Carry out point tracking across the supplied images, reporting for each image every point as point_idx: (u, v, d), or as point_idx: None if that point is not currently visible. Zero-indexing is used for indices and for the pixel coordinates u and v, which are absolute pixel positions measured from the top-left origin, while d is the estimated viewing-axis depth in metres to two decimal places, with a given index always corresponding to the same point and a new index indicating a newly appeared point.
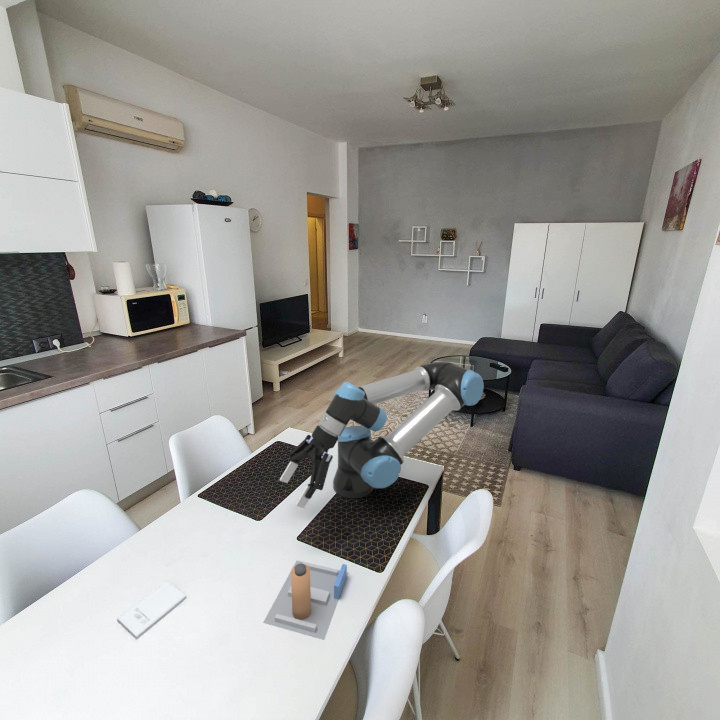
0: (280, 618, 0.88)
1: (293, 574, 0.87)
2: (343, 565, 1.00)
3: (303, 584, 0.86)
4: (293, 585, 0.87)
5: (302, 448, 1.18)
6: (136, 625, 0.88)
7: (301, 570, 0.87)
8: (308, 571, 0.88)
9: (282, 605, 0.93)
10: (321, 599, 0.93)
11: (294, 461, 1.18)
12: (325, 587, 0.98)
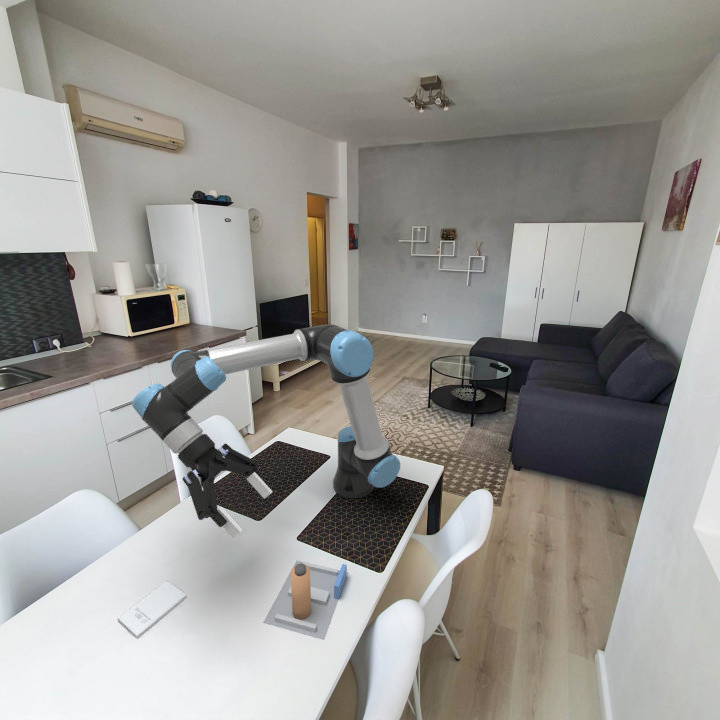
0: (280, 618, 0.88)
1: (293, 575, 0.87)
2: (343, 565, 1.00)
3: (303, 584, 0.86)
4: (293, 585, 0.87)
5: (236, 459, 0.93)
6: (136, 624, 0.88)
7: (301, 570, 0.87)
8: (308, 571, 0.88)
9: (282, 605, 0.93)
10: (321, 599, 0.93)
11: (249, 473, 0.93)
12: (325, 587, 0.98)
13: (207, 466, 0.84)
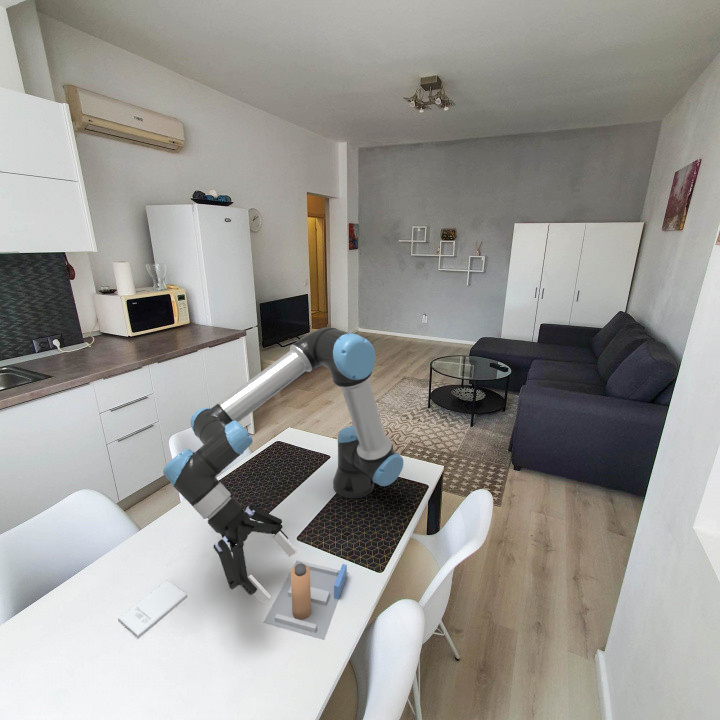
0: (280, 618, 0.88)
1: (293, 574, 0.87)
2: (343, 565, 1.00)
3: (303, 584, 0.86)
4: (293, 585, 0.87)
5: (262, 519, 0.95)
6: (137, 624, 0.88)
7: (301, 570, 0.87)
8: (308, 571, 0.88)
9: (282, 605, 0.93)
10: (321, 599, 0.93)
11: (275, 532, 0.95)
12: (325, 587, 0.98)
13: (236, 531, 0.86)
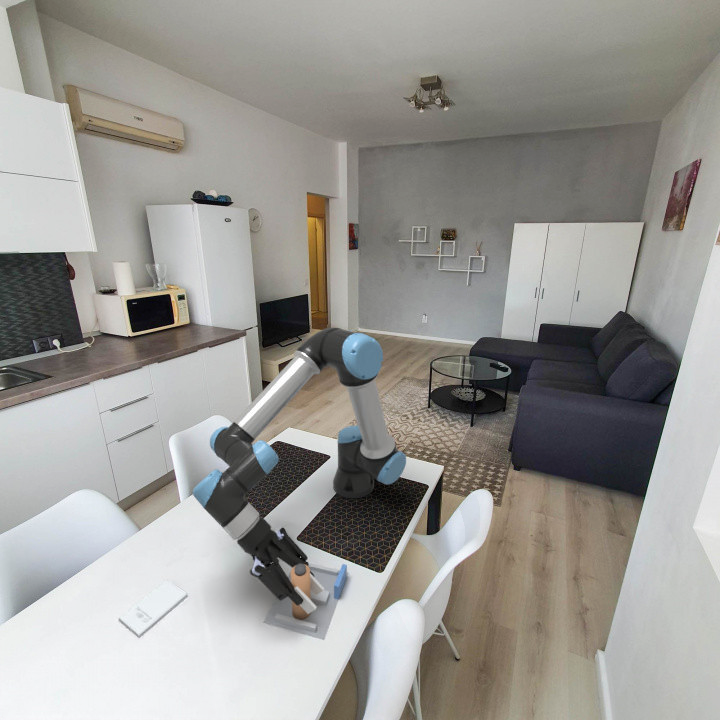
0: (280, 618, 0.88)
1: (293, 575, 0.87)
2: (343, 565, 1.00)
3: (303, 584, 0.86)
4: (293, 585, 0.87)
5: (288, 548, 0.93)
6: (138, 624, 0.88)
7: (301, 570, 0.87)
8: (308, 571, 0.88)
9: (282, 605, 0.93)
10: (321, 599, 0.93)
11: None
12: (325, 587, 0.98)
13: (267, 552, 0.86)
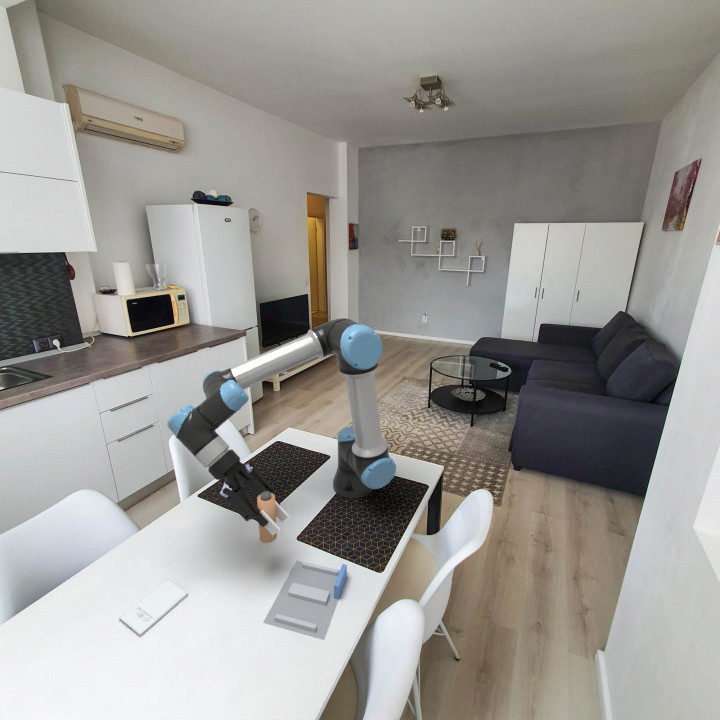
0: (280, 618, 0.88)
1: (259, 500, 0.95)
2: (343, 565, 1.00)
3: (268, 508, 0.95)
4: (259, 509, 0.95)
5: (257, 480, 1.01)
6: (139, 623, 0.88)
7: (266, 496, 0.95)
8: (273, 497, 0.96)
9: (282, 605, 0.93)
10: (321, 599, 0.93)
11: None
12: (325, 587, 0.98)
13: (235, 479, 0.94)
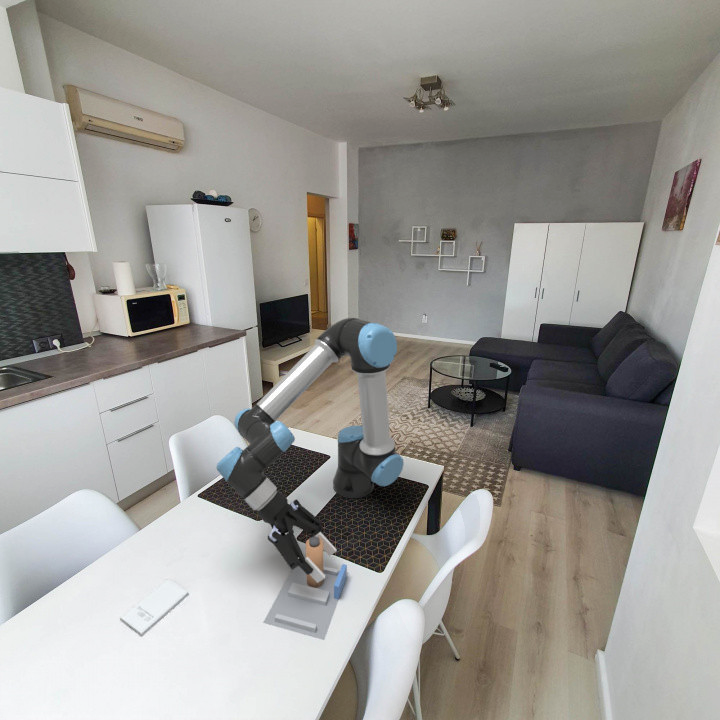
0: (280, 618, 0.88)
1: (308, 546, 0.95)
2: (343, 565, 1.00)
3: (317, 554, 0.95)
4: (308, 556, 0.95)
5: (303, 516, 1.02)
6: (140, 622, 0.88)
7: (315, 542, 0.95)
8: (321, 543, 0.96)
9: (282, 605, 0.93)
10: (321, 599, 0.93)
11: (315, 533, 1.01)
12: (325, 587, 0.98)
13: (284, 522, 0.94)
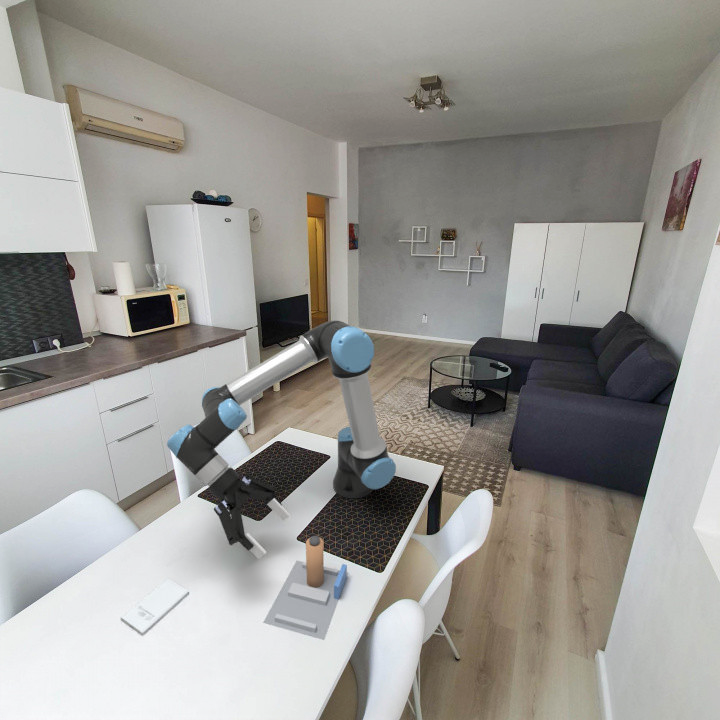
0: (280, 618, 0.88)
1: (308, 545, 0.95)
2: (343, 565, 1.00)
3: (317, 553, 0.95)
4: (308, 555, 0.95)
5: (257, 487, 1.05)
6: (141, 622, 0.88)
7: (315, 541, 0.95)
8: (322, 542, 0.96)
9: (282, 605, 0.93)
10: (321, 599, 0.93)
11: (270, 499, 1.05)
12: (325, 587, 0.98)
13: (234, 496, 0.96)
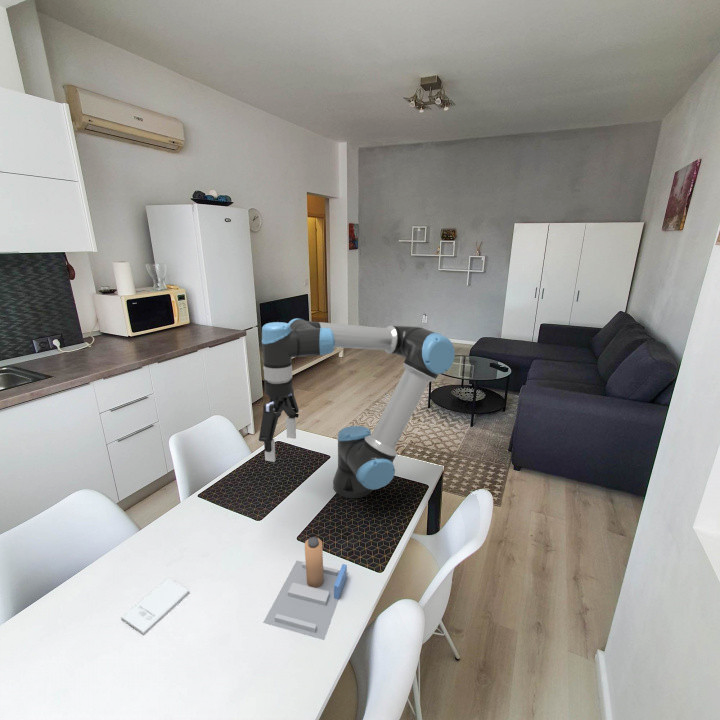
0: (280, 618, 0.88)
1: (307, 546, 0.95)
2: (343, 565, 1.00)
3: (315, 555, 0.94)
4: (307, 556, 0.95)
5: (289, 402, 1.14)
6: (141, 622, 0.88)
7: (314, 543, 0.95)
8: (320, 544, 0.96)
9: (282, 605, 0.93)
10: (321, 599, 0.93)
11: (290, 416, 1.15)
12: (325, 587, 0.98)
13: (280, 404, 1.04)
